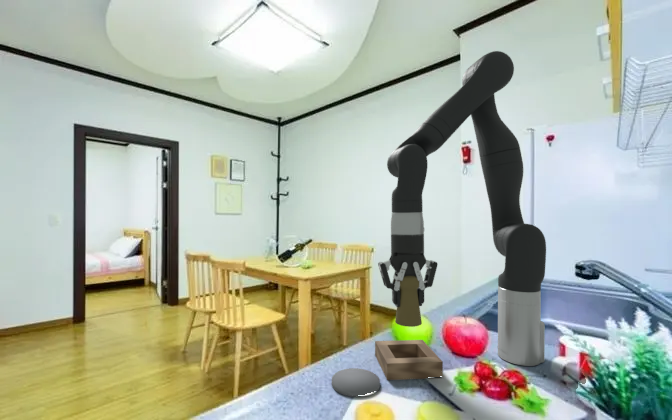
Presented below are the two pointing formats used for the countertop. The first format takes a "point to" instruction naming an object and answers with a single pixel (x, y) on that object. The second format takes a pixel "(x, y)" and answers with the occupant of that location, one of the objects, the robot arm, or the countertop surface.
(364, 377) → the coaster
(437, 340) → the countertop surface
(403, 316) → the brown pawn
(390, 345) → the pocket block
